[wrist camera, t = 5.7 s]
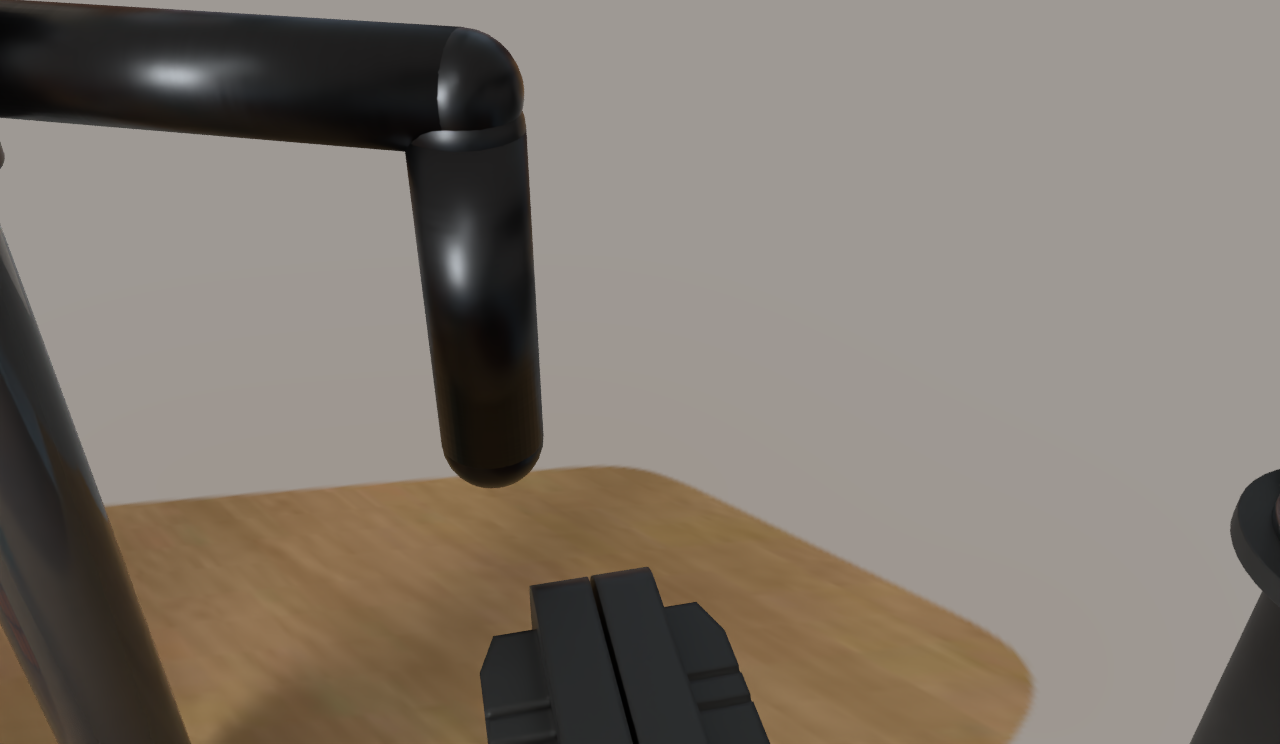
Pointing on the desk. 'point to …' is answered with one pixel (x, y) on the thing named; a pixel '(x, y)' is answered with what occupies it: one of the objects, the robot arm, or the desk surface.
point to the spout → (340, 116)
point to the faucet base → (67, 560)
